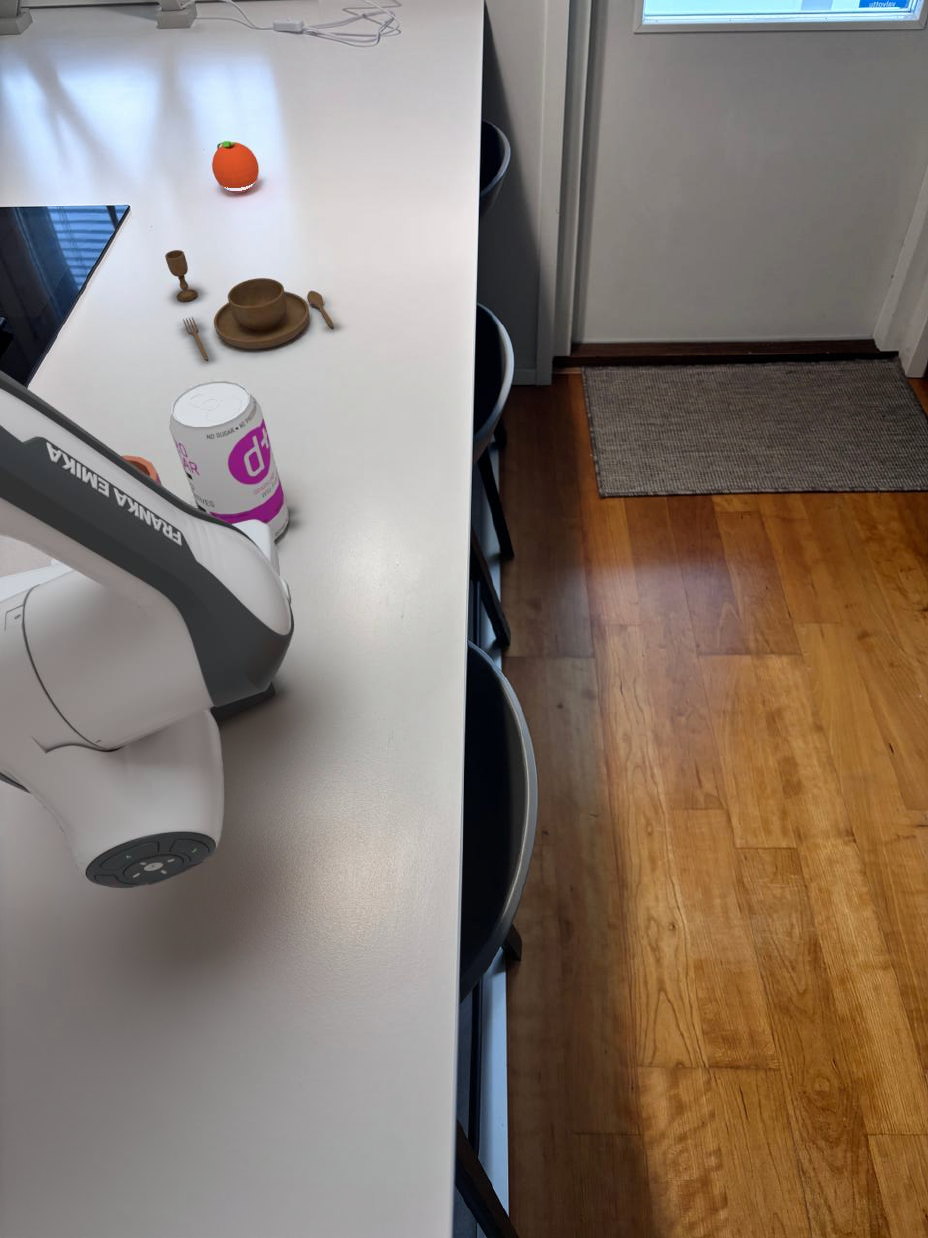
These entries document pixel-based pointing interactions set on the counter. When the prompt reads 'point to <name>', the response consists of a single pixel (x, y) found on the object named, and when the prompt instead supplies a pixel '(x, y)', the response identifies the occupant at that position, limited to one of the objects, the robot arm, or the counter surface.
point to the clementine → (234, 165)
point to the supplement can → (228, 454)
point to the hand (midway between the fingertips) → (132, 521)
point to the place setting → (251, 310)
